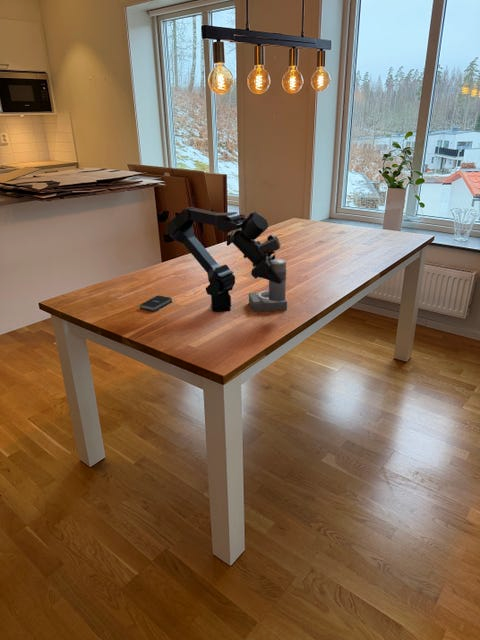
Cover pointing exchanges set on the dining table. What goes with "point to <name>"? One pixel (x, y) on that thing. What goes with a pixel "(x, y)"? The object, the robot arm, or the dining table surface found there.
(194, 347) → the dining table surface
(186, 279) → the dining table surface
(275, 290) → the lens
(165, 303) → the external hard drive
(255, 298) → the camera body
